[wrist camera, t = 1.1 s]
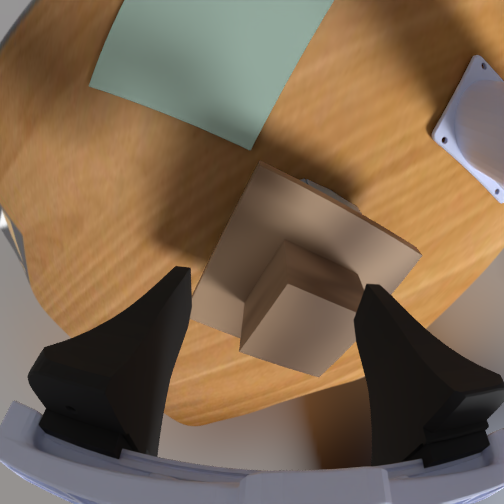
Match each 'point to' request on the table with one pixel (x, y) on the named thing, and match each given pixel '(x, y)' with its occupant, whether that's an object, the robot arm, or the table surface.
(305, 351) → the lid
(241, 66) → the mat
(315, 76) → the table surface
